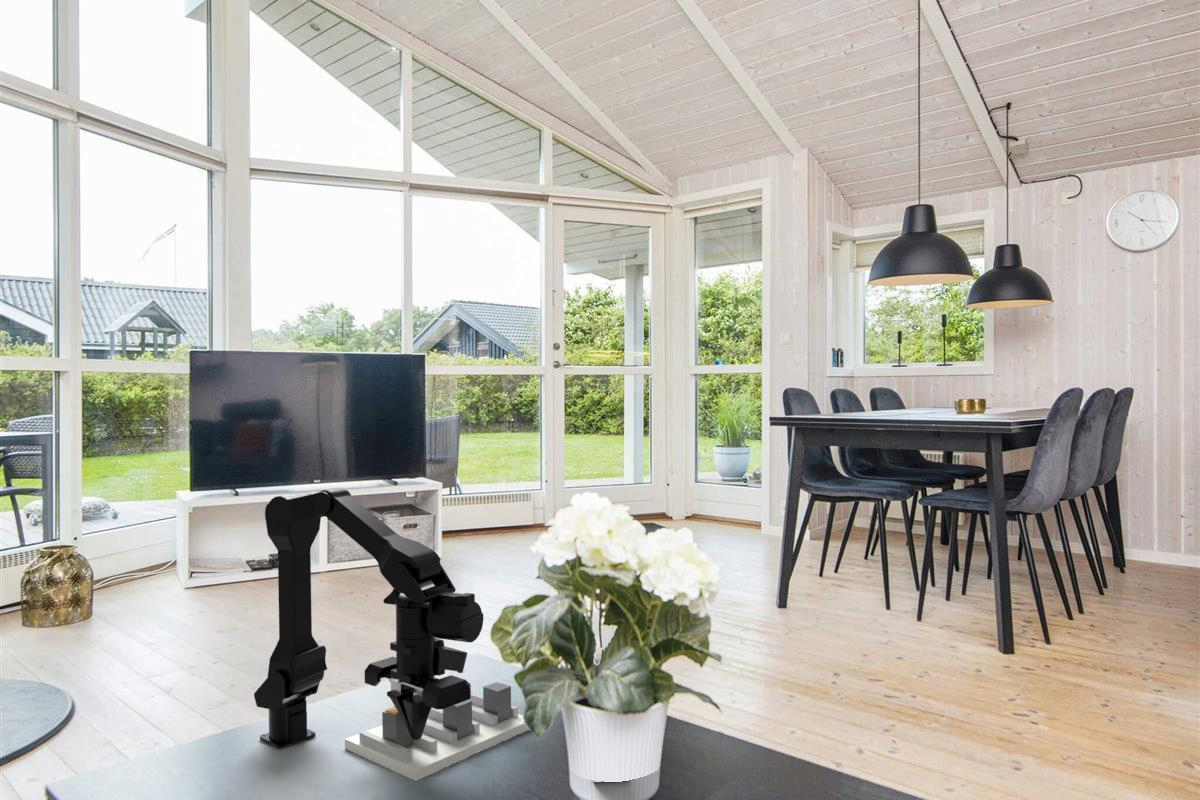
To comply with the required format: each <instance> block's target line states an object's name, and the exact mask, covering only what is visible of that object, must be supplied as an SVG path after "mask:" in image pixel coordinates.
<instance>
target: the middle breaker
mask: <svg viewBox="0 0 1200 800" xmlns="http://www.w3.org/2000/svg"><path fill="white" fill-rule="evenodd" d="M443 727H445V728H447V729H450V730H453V731H455V732H457V739H459V738H461V737H463V736H466V735H468V734H471V733H472V701H470V700H466V701H463V702H461V703H458V704H455V705H453V706H450V707H447V708H445V709H443Z"/></svg>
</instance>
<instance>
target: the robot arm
mask: <svg viewBox="0 0 1200 800" xmlns="http://www.w3.org/2000/svg"><path fill="white" fill-rule="evenodd" d="M323 517H325V518H327V519H328V520H329V521H330V522H332V523H333V524H334V525H335V526H336V527H338V528H339V529H340V530H341V531H342V532H344V534H346V535H347V536H348V537H349V538H350V539H352V540H353V542H355V543H357V544H358V545H359V547H361V548H362V549H364V551H366V552H367V553H369V555H371V556H372V557H373V558H374V560H375V561H376V562H377V565H378V568H379V572H380V574H381V575H382V576H383V578H384V579H385V580H386V581H387V583H388V584H389V585H390V586H391V587H392V588H393V589H392V591H391V592H390V593H389V594H387V596H386V597H385V598H384V599H383V603H384V604H386V605H394V606H395V635H396V636H395V641H392V642H390V643H389V644H390V645H389V646H390V647H389V648H390V649H389V650H391V651H394V652H395V653H396V654H395V655H396V656H390V657H387V658H384V659H380V660H377V661H374V662H371V663H369V664H368V665H367V667H366V668H365V669H364V684H367V685H369V686H373V687H378V685H380V683H381V679H383V678H386V679H388V682H389V683H390V690H389V691H387V692H386V695H387V698H388V697H389V699H390V700H391V701H392V703H393V705H394V707H396V709H397V711H398V712H399V714H400V716H401V718H402V720H403V722H404V724H405V726H406V727H407V729H408V731H409V733H410V735H411V737H412V739H414V740H418V739H420V738H421V737H422V734H423V731H424V728H425V725H426V722H427V719H428V716H429V713H430V710H431V708H434V709H445V708H447V707H450V706H453V705H455V704H458V703H461V702H463V701H466V700H469V699H470V698H471V692H472V690H471V689H472V688H471V687H472V686H471V683H470V682H469V681H467V679H466V678H465V679H464V678H461V677H458V676H455V675H451V674H450V675H447V676H445V677H442V678H437V677H435V676H438V677H439V676H443V675H445V674H446V671H453V672H457V673H458V674H463V673H464V669H465V666H466V661H467V658H468V657H467V656H468V652H467V651H464V650H460V649H456V648H453V647H448V646H445V641H444V640H449V641H456V642H462V643H463V642H464V643H473V642H475V641H476V640H477V639H478V638H479V636H480V635H481V632H482V629H483V625H484V613H483V611H482V608H481V606H480V604H479V603H477V602H476V595H475V593H473V592H472V593H471V592H466V593H465V592H464V593H459V592H458V593H457V592H456V590H457V589H456V587H455V586H454V584H453V582H452V581H451V579H450V577H449V576H448V574H447V572H446V571H445V569H444V567H443V566H442V564H441V558H440V556H439V554H437V552H436V551H435V550H434V549H432V548H430V547H429V546H426V545H425V544H423V543H421V542H419V541H417V540H414V539H410V538H407V537H404V536H402V535H400V534H398V533H397V532H396V531H394V530H393V529H392V528H391V527H389V526H388V525H387V524H386V523H384V521H382V520H380V518H379V517H378V516H376V515H375V514H373V513H372V512H371V511H370V510H369V509H367V508H366V507H365V506H364V505H363V504H362V503H360V502H359V501H357V500H356V499H355V498H354V497H353V496H352V493H350V491H349V490H347V489H345V488H343V487H337V488H329V489H323V490H320V491H319V492H316V493H313V494H312V493H311V492H307V491H306V492H300V493H292V494H287V495H284V494H283V495H278V496H275V497H273V498H272V499H271V500H270V501H269V502H268V503H267V504H266V505H265V509H264V518H265V525H266V533H267V537H268V538H269V539H270V540H271V542H272V544H273V546H275V549H276V550H277V571H278V572H277V575H278V577H277V579H278V580H277V582H278V583H277V584H278V586H277V587H278V630H279V631H278V641H277V643H276V645H275V648H274V649H273V651H272V653H271V656H270V657H269V663H268V670H267V671H268V672H267V677H266V679H265V680H264V681H263V682H262V684H261V685H260V686H259V687H258V688H257V689H256V690H255V692H254V693H253V697H254V700H255V705H256V707H257V708H261V709H262V708H263V709H267V710H268V732H267V733H263V734H261V735H259V739H260V740H261V741H263V742H265V743H267V744H270V745H271V746H273V747H275V748H276V749H282V748H286V747H289V746H291V745H295V744H297V743H299V742H303V741H305V740H308V739H311V738H314V737H316V735H317V734H316V731H313V730H311V729H309V728H308V713H307V712H308V711H307V708H308V707H307V704H308V703H307V697H310V696H312V695H315V694H317V693H318V689H319V686H320V683H321V681H323V679H324V676H325V672H326V671H328V667H327V663H326V655H327V648H326V646H325V645H319V644H318V643H317V641H316V640H315V638H314V636H313V633H312V631H313V629H312V627H313V626H312V625H313V624H312V623H313V621H312V573H311V572H312V570H311V569H312V565H311V563H312V562H311V559H312V558H311V550H312V549H311V548H312V546H313V544H314V541H315V540H316V538H317V536H318V534H319V531H320V528H321V521H322V520H321V518H323ZM432 585H434V586H432ZM429 586H430V587H429ZM427 587H428V588H427ZM423 588H425V589H423Z"/></svg>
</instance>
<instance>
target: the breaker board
mask: <svg viewBox="0 0 1200 800" xmlns="http://www.w3.org/2000/svg"><path fill="white" fill-rule="evenodd" d="M469 700H470V701H472V733H471V734H468V735H466V736H463V737H461V738H459V739H457V732H455V731H453V730H450V729H447V728H445V727H443V709H434V708H431V710H430V713H429V716H428V719H427V722H426V725H425V728H424V731H423V734H422V737H421V738H420V739H418V740H414V739H413V744H412V745H409V746H407V747H402V746H400V745H398V744H395V743H393V742H391V741H388V740H386V739H384V738H383V724H381V725H379V726H376V727H374V728H371V729H368V730H363V731H361V732H358V734H355V735H352V736H349V737H346V738H344V749H345V750H348V751H349V752H352V753H354V754H356V755H358V756H360V757H362V758H364V759H367V760H369V761H371V762H373V763H375V764H378V765H380V766H383V767H385V768H386V769H388V770H391V771H393V772H394V773H397V774H400V775H401V776H404V777H406V778H408V779H410V780H412V781H414V782H417V781H419V780H421V779H423V778H426V777H429V776H430V775H432V774H435V773H438V772H439V771H441V769H442V770H443V768H444V769H446V768H448V767H450V765H451V764H453V763H455V762H457V761H459V762H461V761H460V760H461V759H463V758H465V757H468V756H470V755H472V754H474V753H476V752H478V751H481V750H484V749H486V748H489V747H491V746H493V745H495V746H497V745H499V744H498V743H500V742H502V741H504V740H506V739H508V738H510V737H513V736H515V735H517V734H520V733H522V732H523V731H525V732H524V733H526V730H527V732H529V731H530V730H528V729H527V727H526V725H525V723H524V719H523V716H524V715H522V714H519V707H518V706H515V705H512V704H511V717H509V718H506V719H504V720H502V721H499V722H498V716H497V715H494V714H492V713H489V712H486V711H484V707H483V695H482V694H478V693H474V692H472V691H471V698H470V699H469ZM522 734H523V733H522ZM520 735H521V734H520ZM515 737H516V736H515ZM513 738H514V737H513ZM506 741H507V740H506ZM504 742H505V741H504ZM502 743H503V742H502ZM496 744H497V745H496ZM500 744H501V743H500ZM493 747H494V746H493ZM491 748H492V747H491ZM489 749H490V748H489ZM486 750H487V749H486ZM484 751H485V750H484ZM468 758H469V757H468ZM457 763H458V762H457ZM455 764H456V763H455ZM453 765H454V764H453ZM451 766H452V765H451ZM445 767H446V768H445Z"/></svg>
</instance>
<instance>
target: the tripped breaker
mask: <svg viewBox="0 0 1200 800" xmlns="http://www.w3.org/2000/svg"><path fill="white" fill-rule="evenodd" d="M381 713H382V717H381V718H382V722H381V724H382V725H383V738H384V739H386V740H388V741H391V742H393V743H395V744H398V745H400V746H402V747H407V746H409V745H412V744H413V739H412V737H411V735H410V733H409V731H408V729H407V727H406V726H405V724H404V722H403V720H402V718H401V716H400V714H399V712H398V711H397V709H396V707H395V706H392V707H390V708H387V709H385V711H382V712H381Z"/></svg>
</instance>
